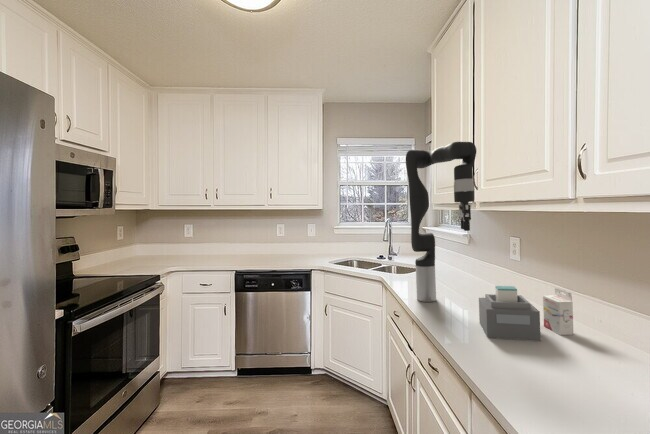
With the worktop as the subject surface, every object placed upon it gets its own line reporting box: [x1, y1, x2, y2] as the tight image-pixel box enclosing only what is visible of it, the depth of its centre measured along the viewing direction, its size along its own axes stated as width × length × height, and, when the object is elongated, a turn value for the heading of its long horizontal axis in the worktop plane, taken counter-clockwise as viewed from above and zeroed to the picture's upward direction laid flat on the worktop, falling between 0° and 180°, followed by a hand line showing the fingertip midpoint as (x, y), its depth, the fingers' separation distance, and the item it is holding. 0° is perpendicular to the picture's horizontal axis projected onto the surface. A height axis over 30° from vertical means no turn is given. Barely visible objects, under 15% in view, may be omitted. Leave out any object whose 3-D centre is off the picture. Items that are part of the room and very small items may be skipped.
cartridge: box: [494, 285, 518, 302], centre depth 112 cm, size 4×6×6 cm, turn 73°
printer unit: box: [478, 293, 542, 342], centre depth 112 cm, size 15×16×12 cm
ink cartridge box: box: [542, 287, 574, 336], centre depth 111 cm, size 9×5×15 cm, turn 179°
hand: (465, 229), depth 128 cm, fingers open, 8 cm apart
